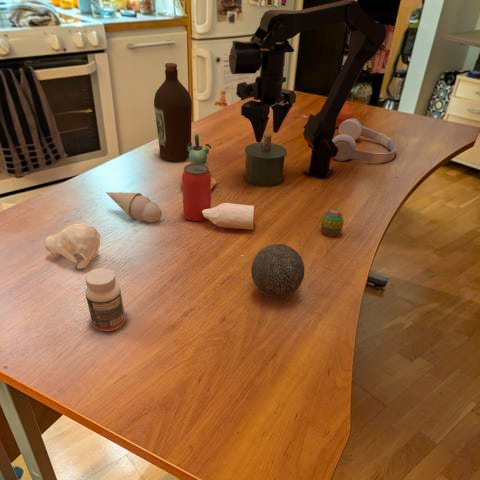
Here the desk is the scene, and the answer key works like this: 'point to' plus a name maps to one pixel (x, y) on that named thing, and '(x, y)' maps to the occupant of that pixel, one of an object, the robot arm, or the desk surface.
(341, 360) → the desk surface
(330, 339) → the desk surface
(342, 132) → the headphones
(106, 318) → the pill bottle
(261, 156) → the bin lid
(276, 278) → the decorative ball
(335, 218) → the egg
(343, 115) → the tomato
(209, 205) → the beer can
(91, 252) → the beige rounded piece
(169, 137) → the olive oil
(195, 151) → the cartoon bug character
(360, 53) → the robot arm
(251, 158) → the bin
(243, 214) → the white bottle
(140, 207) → the ice cream cone
